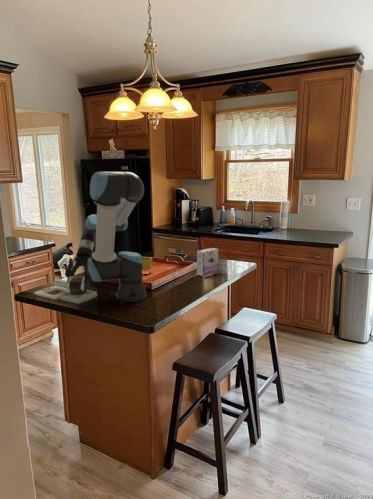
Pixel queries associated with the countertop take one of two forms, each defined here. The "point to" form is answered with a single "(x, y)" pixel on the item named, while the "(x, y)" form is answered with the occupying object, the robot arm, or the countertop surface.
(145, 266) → the plant pot
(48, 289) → the socket block
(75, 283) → the box
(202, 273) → the candy box
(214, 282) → the countertop surface
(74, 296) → the tray
